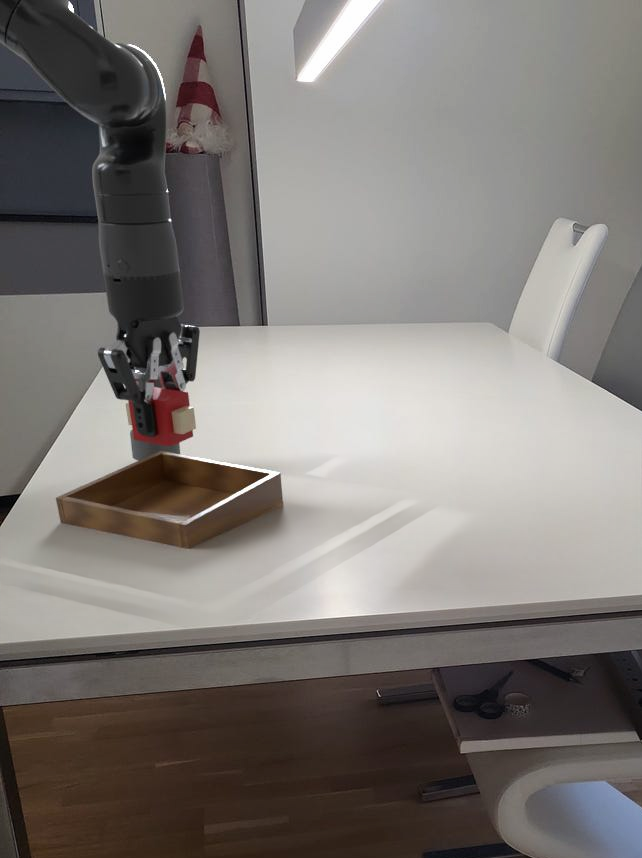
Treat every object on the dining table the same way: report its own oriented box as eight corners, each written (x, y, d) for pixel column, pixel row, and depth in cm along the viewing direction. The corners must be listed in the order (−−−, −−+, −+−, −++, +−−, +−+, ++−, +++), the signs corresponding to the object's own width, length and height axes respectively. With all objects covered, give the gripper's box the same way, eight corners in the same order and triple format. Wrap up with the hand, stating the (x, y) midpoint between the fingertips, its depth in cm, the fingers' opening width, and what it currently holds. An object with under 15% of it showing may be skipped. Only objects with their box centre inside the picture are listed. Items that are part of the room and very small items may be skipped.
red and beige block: (125, 438, 115) (118, 393, 113) (149, 428, 118) (143, 384, 116) (179, 448, 113) (173, 403, 110) (202, 438, 116) (197, 393, 113)
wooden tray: (62, 533, 116) (55, 497, 114) (165, 483, 131) (160, 450, 128) (190, 562, 110) (185, 525, 108) (283, 506, 124) (280, 472, 122)
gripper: (157, 254, 114) (176, 408, 122) (62, 274, 102) (90, 443, 111) (213, 260, 111) (229, 417, 119) (122, 281, 100) (146, 453, 108)
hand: (162, 428), depth 115 cm, fingers closed on red and beige block, 4 cm apart
